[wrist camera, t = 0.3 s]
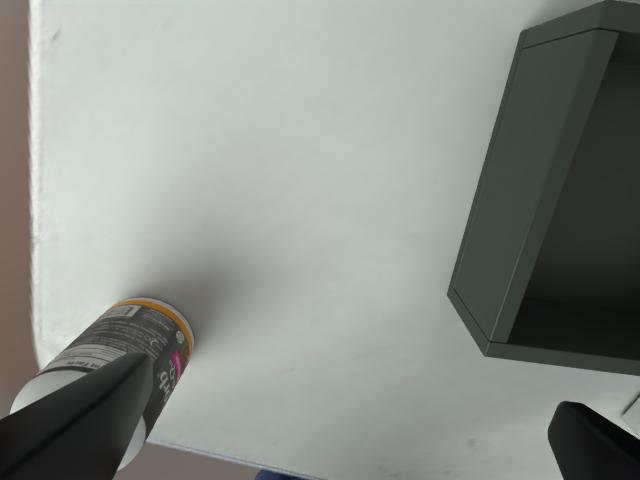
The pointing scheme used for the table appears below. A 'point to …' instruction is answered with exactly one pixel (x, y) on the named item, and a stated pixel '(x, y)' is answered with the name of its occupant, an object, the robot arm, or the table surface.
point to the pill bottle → (114, 341)
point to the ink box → (633, 418)
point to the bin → (561, 201)
